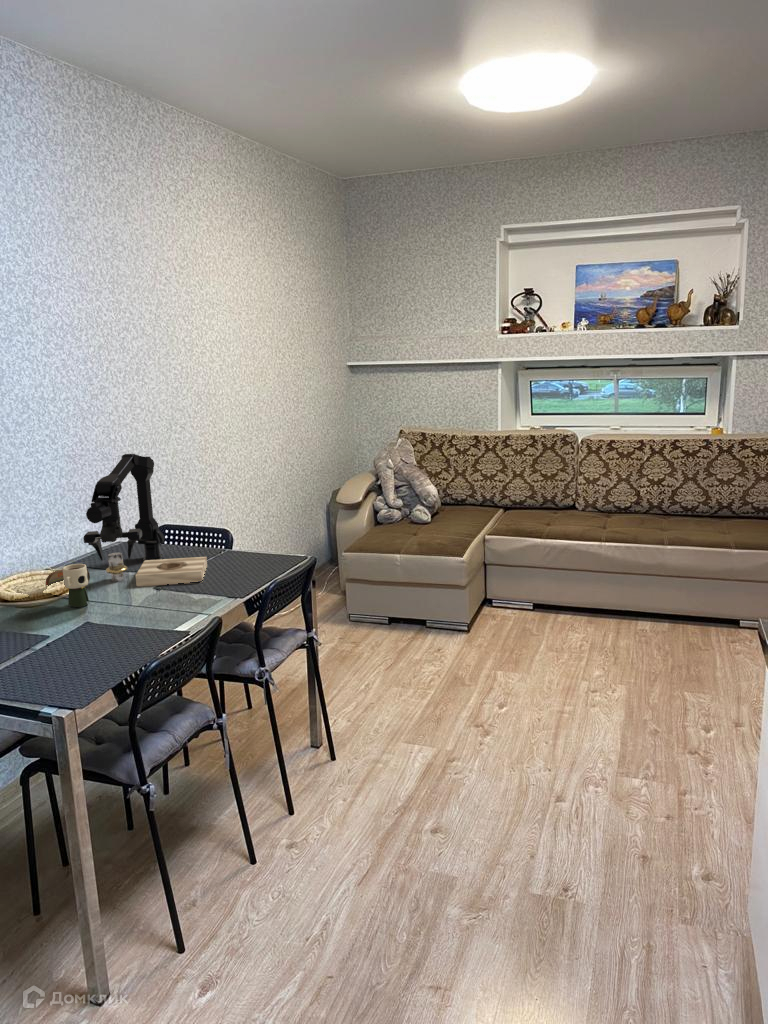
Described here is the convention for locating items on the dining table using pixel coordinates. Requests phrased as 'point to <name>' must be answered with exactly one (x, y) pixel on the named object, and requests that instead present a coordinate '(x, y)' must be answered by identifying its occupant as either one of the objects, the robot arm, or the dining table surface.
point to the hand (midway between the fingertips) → (115, 559)
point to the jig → (171, 571)
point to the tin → (59, 577)
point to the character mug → (76, 584)
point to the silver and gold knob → (116, 566)
